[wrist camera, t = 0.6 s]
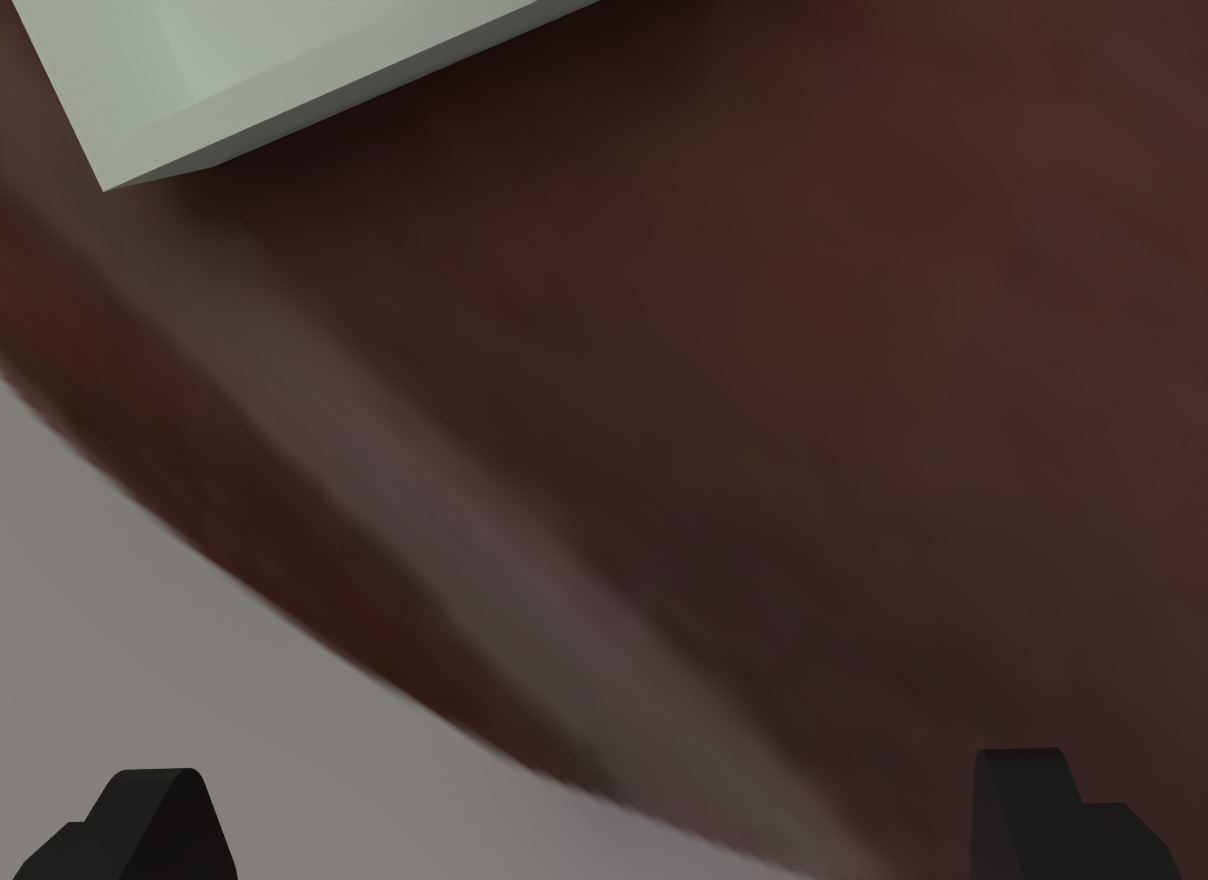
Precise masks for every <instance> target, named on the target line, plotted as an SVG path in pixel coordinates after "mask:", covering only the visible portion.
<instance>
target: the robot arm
mask: <svg viewBox="0 0 1208 880" xmlns="http://www.w3.org/2000/svg"><path fill="white" fill-rule="evenodd" d="M970 879H971V880H1182V877H1181V875H1180V873H1179V871H1178V869H1177V866H1176V864H1175V862H1174V860H1173V858H1172V855H1171V853H1170V851H1169V849H1168V847H1167V845H1166V844H1165V843H1164V842H1163V841H1162V840H1161V839H1160V838H1159V837H1158V836H1157V835H1156V834H1155V833H1154V832H1153V831H1152V830H1151V829H1150V828H1149V827H1148V826H1147V825H1146V824H1145V823H1144V822H1143V821H1142V820H1141V819H1140V818H1139V817H1138V816H1137V815H1136V814H1135V813H1134V812H1133V811H1132V810H1131V809H1130V808H1129V807H1128V806H1127V805H1126V804H1125V803H1096V804H1083V803H1082V800H1081V797H1080V795H1079V792H1078V790H1077V787H1076V785H1075V782H1074V779H1073V777H1072V774H1071V772H1070V769H1069V766H1068V764H1067V762H1066V759H1065V757H1064V755H1063V754H1062V752H1061V751H1060V750H1059V749H1058V748H1024V749H986V750H979V751H978V753H977V756H976V764H975V779H974V795H973V812H972V828H971V845H970ZM13 880H238V879H237V872H236V867H235V864H234V861H233V858H232V856H231V853H230V850H229V848H228V845H227V842H226V839H225V837H224V834H223V831H222V829H221V826H220V823H219V821H218V818H217V815H216V812H215V810H214V807H213V804H212V802H211V799H210V796H209V793H208V791H207V788H206V785H205V783H204V780H203V778H202V776H201V775H200V774H199V773H198V772H197V771H196V770H195V769H192V768H174V769H137V770H123V771H120V772H118V773H117V774H115V775H114V776H113V777H112V779H111V780H110V781H109V783H108V784H107V785H106V787H105V789H104V790H103V792H102V794H101V795H100V797H99V798H98V800H97V802H96V803H95V805H94V806H93V808H92V810H91V811H90V813H89V815H88V816H87V818H86V819H85V821H84V822H68V823H67V824H66V825H65V826H64V827H63V828H61V829H60V830H59V831H58V832H57V833H56V834H55V835H54V836H53V837H51V838H50V839H49V840H48V841H47V842H46V843H45V844H44V845H43V846H41V847H40V848H39V849H38V850H37V851H36V852H35V853H34V854H33V855H31V856H30V857H29V858H28V859H27V860H26V861H25V862H24V863H23V865H22V866H21V868H20V869H19V871H18V872H17V874H16V875H15V877H14V879H13Z"/></svg>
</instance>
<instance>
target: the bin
mask: <svg viewBox="0 0 1208 880" xmlns="http://www.w3.org/2000/svg"><path fill="white" fill-rule="evenodd" d="M12 1H13V3H14V5H15V7H16V10H17V12H18V14H19V16H20V18H21V20H22V22H23V24H24V26H25V28H26V31H27V33H28V35H29V37H30V39H31V41H32V43H33V45H34V47H35V49H36V52H37V54H38V56H39V58H40V60H41V62H42V64H43V66H44V68H45V70H46V73H47V75H48V77H49V79H50V81H51V83H52V85H53V87H54V89H55V92H56V94H57V96H58V98H59V100H60V102H61V104H62V106H63V108H64V110H65V113H66V115H67V117H68V119H69V121H70V123H71V125H72V127H73V129H74V131H75V134H76V136H77V138H78V140H79V142H80V144H81V146H82V148H83V150H84V152H85V155H86V157H87V159H88V161H89V163H90V165H91V167H92V169H93V171H94V173H95V176H96V178H97V180H98V182H99V184H100V186H101V188H102V190H103V192H104V191H109V190H113V189H117V188H122V187H126V186H131V185H135V184H140V183H144V182H148V181H153V180H157V179H162V178H166V177H170V176H175V175H179V174H184V173H188V172H193V171H197V170H201V169H206V168H210V167H214V166H217V165H219V164H221V163H224V162H226V161H228V160H231V159H233V158H235V157H238V156H240V155H242V154H245V153H247V152H249V151H252V150H254V149H256V148H259V147H261V146H263V145H266V144H268V143H270V142H272V141H275V140H277V139H279V138H282V137H284V136H286V135H289V134H291V133H293V132H296V131H298V130H300V129H303V128H305V127H307V126H310V125H312V124H314V123H317V122H319V121H321V120H324V119H326V118H328V117H331V116H333V115H335V114H337V113H340V112H342V111H344V110H347V109H349V108H351V107H354V106H356V105H358V104H361V103H363V102H365V101H368V100H370V99H372V98H375V97H377V96H379V95H382V94H384V93H386V92H389V91H391V90H393V89H396V88H398V87H400V86H402V85H405V84H407V83H409V82H412V81H414V80H416V79H419V78H421V77H423V76H426V75H428V74H430V73H433V72H435V71H437V70H440V69H442V68H444V67H447V66H449V65H451V64H454V63H456V62H458V61H461V60H463V59H465V58H467V57H470V56H472V55H474V54H477V53H479V52H481V51H484V50H486V49H488V48H491V47H493V46H495V45H498V44H500V43H502V42H505V41H507V40H509V39H512V38H514V37H516V36H519V35H521V34H523V33H526V32H528V31H530V30H532V29H535V28H537V27H539V26H542V25H544V24H546V23H549V22H551V21H553V20H556V19H558V18H560V17H563V16H565V15H567V14H570V13H572V12H574V11H577V10H579V9H581V8H584V7H586V6H588V5H591V4H593V3H595V2H597V1H600V0H12Z"/></svg>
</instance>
